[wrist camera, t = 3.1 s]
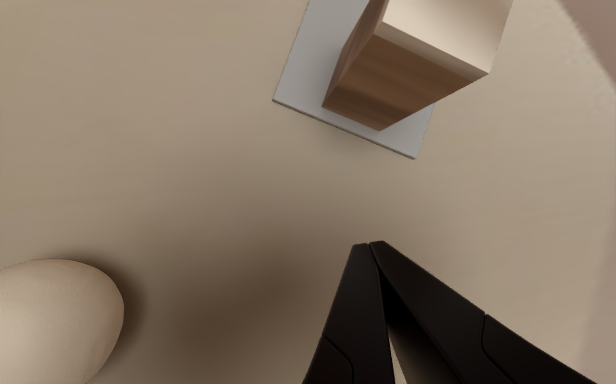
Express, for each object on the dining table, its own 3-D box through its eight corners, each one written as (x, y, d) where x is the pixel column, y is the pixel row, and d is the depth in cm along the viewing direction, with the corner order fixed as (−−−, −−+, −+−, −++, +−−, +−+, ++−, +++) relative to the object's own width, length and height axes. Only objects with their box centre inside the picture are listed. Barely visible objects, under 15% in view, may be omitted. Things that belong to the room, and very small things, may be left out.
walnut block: (379, 131, 21) (489, 73, 11) (321, 106, 20) (382, 21, 10) (399, 73, 21) (523, -34, 11) (342, 47, 20) (422, -91, 11)
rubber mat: (413, 159, 22) (416, 158, 21) (272, 100, 20) (272, 98, 20) (481, -45, 23) (485, -49, 22) (354, -116, 21) (356, -122, 21)
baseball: (-4, 356, 17) (-168, 456, 11) (41, 235, 18) (-88, 259, 11) (116, 380, 18) (37, 486, 12) (157, 266, 19) (102, 304, 12)
